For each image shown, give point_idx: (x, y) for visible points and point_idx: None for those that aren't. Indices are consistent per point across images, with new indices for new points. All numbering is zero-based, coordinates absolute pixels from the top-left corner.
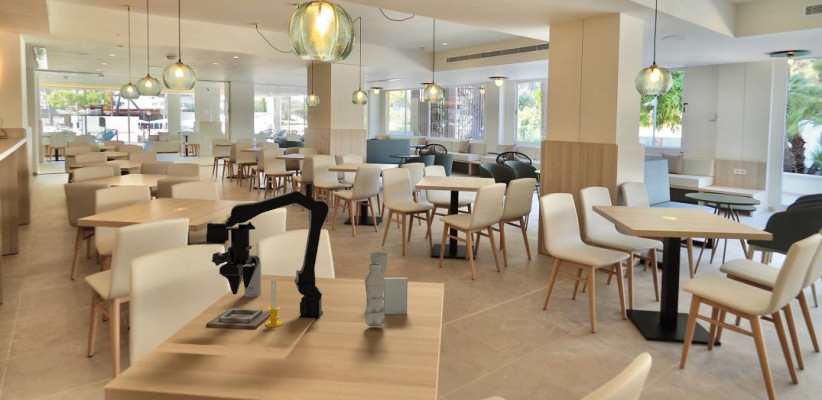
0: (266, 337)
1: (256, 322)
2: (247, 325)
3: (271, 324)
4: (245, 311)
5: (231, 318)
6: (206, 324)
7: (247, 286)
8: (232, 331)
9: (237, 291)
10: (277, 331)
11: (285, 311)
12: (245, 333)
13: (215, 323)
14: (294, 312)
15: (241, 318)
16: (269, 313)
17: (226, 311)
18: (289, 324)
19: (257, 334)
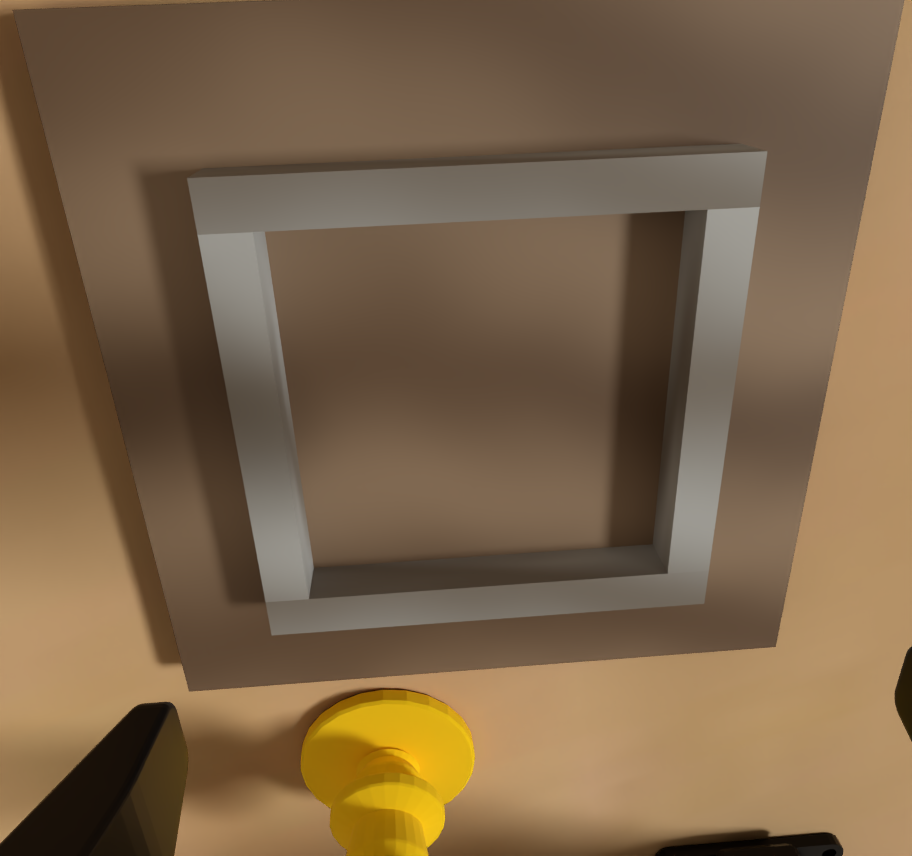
0: (2, 827)
1: (309, 652)
2: (171, 612)
3: (330, 767)
4: (680, 391)
5: (230, 395)
6: (18, 17)
7: (905, 727)
8: (18, 481)
9: (166, 845)
10: (199, 839)
11: (871, 686)
12: (20, 633)
13: (83, 175)
14: (827, 766)
15: (262, 528)
16: (685, 642)
17: (776, 16)
18: (427, 849)
19: (45, 738)
